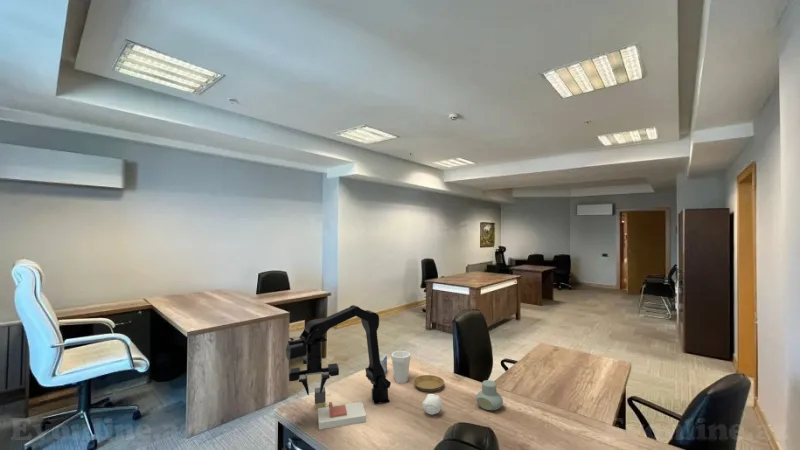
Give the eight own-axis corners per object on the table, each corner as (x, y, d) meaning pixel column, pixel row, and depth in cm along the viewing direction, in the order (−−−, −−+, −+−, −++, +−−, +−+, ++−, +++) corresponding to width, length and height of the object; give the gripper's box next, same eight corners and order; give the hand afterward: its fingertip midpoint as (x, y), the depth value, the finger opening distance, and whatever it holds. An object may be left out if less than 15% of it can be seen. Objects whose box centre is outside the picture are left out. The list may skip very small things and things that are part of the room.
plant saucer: (423, 377, 171) (423, 372, 171) (449, 384, 163) (449, 379, 163) (407, 388, 159) (407, 383, 159) (434, 397, 151) (434, 391, 151)
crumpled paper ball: (431, 406, 142) (431, 387, 142) (445, 413, 137) (445, 393, 137) (418, 413, 137) (418, 394, 137) (433, 420, 131) (432, 401, 131)
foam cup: (396, 386, 161) (396, 359, 162) (388, 378, 169) (388, 353, 170) (414, 381, 166) (413, 355, 166) (405, 375, 174) (404, 349, 174)
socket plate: (361, 407, 142) (361, 401, 142) (366, 421, 131) (366, 415, 131) (318, 414, 137) (318, 408, 137) (318, 429, 126) (318, 422, 126)
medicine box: (383, 377, 171) (383, 360, 171) (375, 377, 172) (374, 360, 172) (387, 371, 178) (387, 355, 179) (379, 371, 179) (378, 354, 180)
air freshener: (506, 407, 141) (505, 383, 141) (496, 415, 135) (496, 390, 135) (482, 399, 148) (482, 376, 148) (473, 406, 142) (472, 382, 142)
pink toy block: (345, 406, 138) (345, 399, 138) (346, 414, 131) (346, 407, 131) (329, 409, 136) (328, 402, 136) (330, 417, 130) (329, 410, 130)
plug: (325, 403, 146) (324, 386, 146) (325, 408, 142) (325, 391, 142) (314, 404, 145) (314, 388, 145) (314, 409, 141) (314, 392, 141)
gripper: (336, 344, 142) (336, 382, 142) (290, 349, 137) (290, 388, 137) (338, 354, 131) (339, 394, 131) (288, 359, 126) (289, 401, 126)
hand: (314, 393), depth 132 cm, fingers open, 4 cm apart
